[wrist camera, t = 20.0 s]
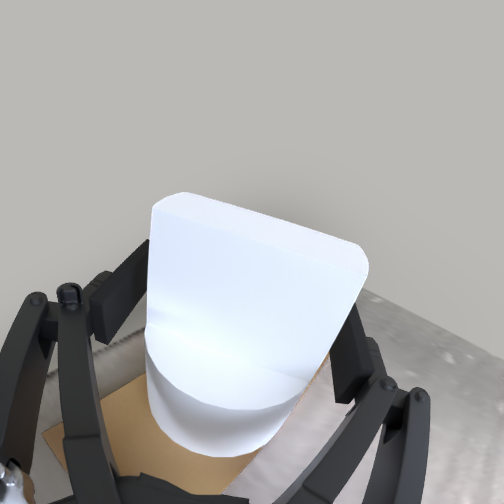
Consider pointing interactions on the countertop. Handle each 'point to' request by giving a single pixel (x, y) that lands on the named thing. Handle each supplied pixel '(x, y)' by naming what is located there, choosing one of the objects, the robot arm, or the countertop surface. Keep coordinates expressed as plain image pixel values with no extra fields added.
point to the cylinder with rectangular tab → (238, 319)
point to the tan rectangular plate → (156, 444)
